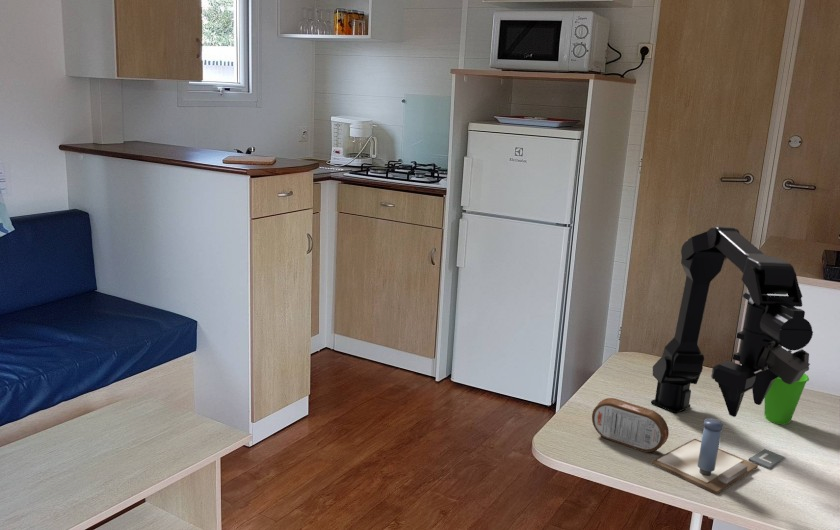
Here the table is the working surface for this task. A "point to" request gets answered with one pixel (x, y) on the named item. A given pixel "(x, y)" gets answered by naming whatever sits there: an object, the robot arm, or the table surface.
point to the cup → (783, 400)
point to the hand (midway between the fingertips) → (745, 409)
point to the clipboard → (686, 467)
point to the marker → (709, 446)
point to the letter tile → (766, 458)
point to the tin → (630, 424)
